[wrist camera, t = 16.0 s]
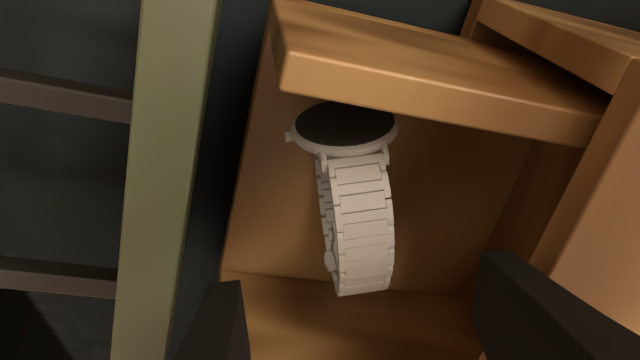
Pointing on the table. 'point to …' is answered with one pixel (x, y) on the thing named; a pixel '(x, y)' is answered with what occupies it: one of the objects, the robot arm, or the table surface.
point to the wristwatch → (352, 190)
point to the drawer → (300, 178)
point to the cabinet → (586, 153)
